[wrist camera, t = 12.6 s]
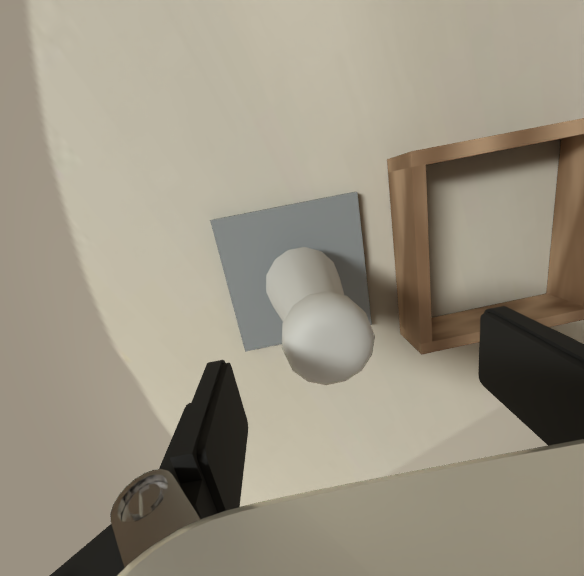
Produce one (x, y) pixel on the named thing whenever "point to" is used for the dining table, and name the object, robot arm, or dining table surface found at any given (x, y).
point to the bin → (415, 243)
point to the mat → (277, 240)
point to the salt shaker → (318, 318)
